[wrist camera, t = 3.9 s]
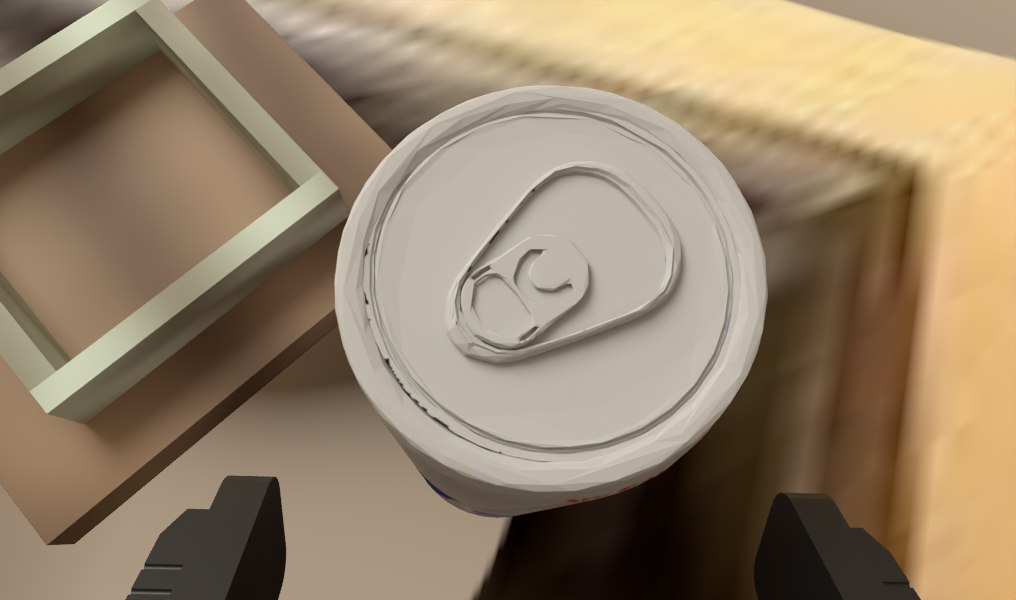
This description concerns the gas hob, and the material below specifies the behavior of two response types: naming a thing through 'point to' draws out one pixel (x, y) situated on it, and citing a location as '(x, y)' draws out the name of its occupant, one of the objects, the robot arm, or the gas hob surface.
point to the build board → (158, 242)
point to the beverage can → (549, 296)
